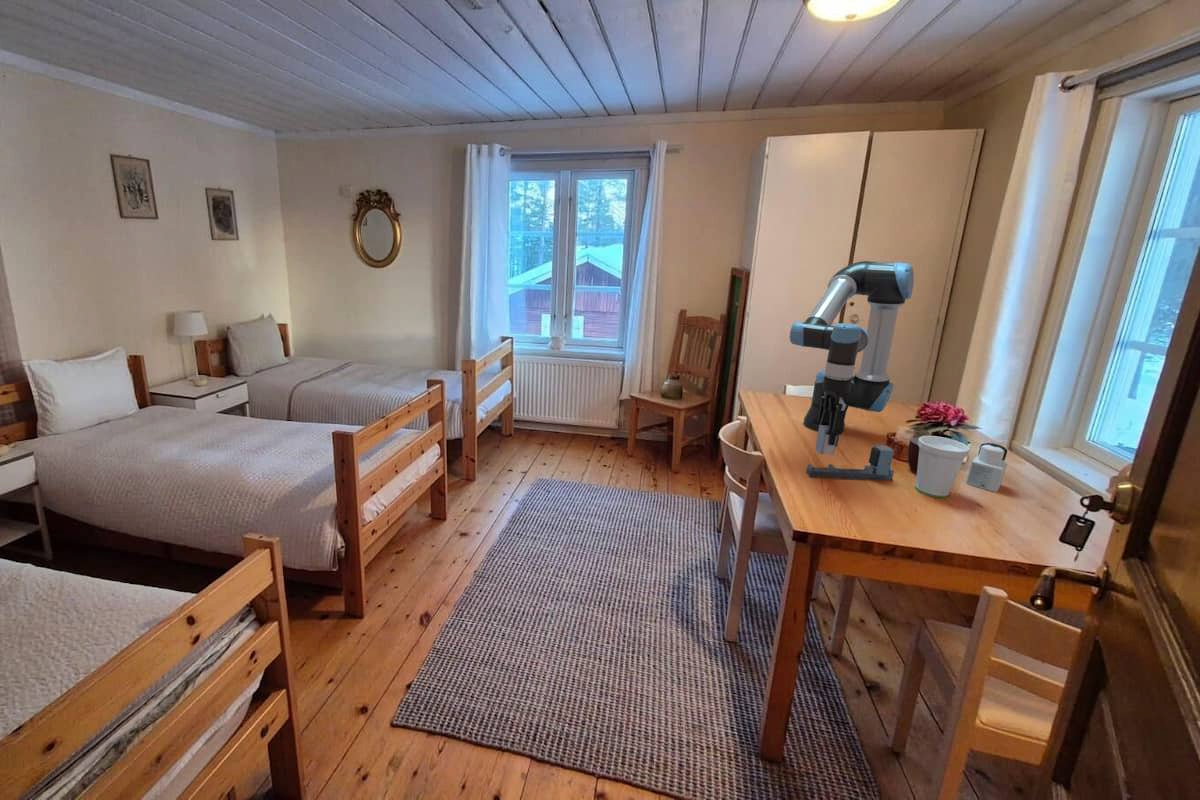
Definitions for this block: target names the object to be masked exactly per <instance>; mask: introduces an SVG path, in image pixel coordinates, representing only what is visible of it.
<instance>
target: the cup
mask: <svg viewBox="0 0 1200 800" xmlns="http://www.w3.org/2000/svg"><path fill="white" fill-rule="evenodd" d="M918 438H919V440H918V446H919V458H918V468H917V473H916V479H915V486H914V488H915V489H916V490H917V492H919V493H920V494H923V495H925V496H929V497H932V498H941V499H942V498H947V497H949V495H950V492H951V490H952V487H953V485H954V483H955V481H956V478H957V476H958V474H959V471H960V469H961V467H962V464H963V462H964V460H965V458H966V457H967V456H969V453H970V447H969V446H968V445H966V444H965V443H963V442H961V441H958V440H955V439H952V438H949V437H942V436H936V435H922V436H920V437H918Z"/></svg>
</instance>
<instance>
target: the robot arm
mask: <svg viewBox="0 0 1200 800" xmlns="http://www.w3.org/2000/svg"><path fill="white" fill-rule="evenodd" d="M914 274H915V273H914V268H913V266H912V264H910V263H906V262H905V263H904V262H899V261H898V262H897V261H869V260H868V261H867V260H862V261H857V262H853V263H851V264H848V265H847V266H845V267H843V268H841V269H839V270H838V271H837V272H836V273H835V274H834V275H833V276H831V278H830V280H829V282H828V283H827V289H826V291H825V292H824V294H823V295H822V297H821V298H820V299H819V300H818V302H817V304H816V305H815V306H814V308H813V309H812V311H811V313H810V314H809V316H808V317H807V319H806V320H805V321H795V322H794V323H793V324H792V326H791V327H790V330H789V341H790V343H791V344H792V345H795V346H801V347H803V348H804V347H805V348H811V349H821V350H828V353H827V359H826V360H827V361H826V362H825V363H826V364H825V367H824V368H825V369H823V370H820V371H818V372H817V373H816V376H815V381H814V382H813V383H814V386H813V391H812V398H811V404H810V407H809V409H808V411H807V412H806V415H805V416H804V418H803V422H802V424H803V426H804V427H806V428H808V429H811V430H813V431H817V432H818V430H819V425H829V430H828V432H826V439H825V444H824V449H823V454H822V455H827V454H829V455H828V456H831V455H832V456H834V455H833V450H834V445H835V440H836V435H839V436H841V435H842V433H843V432H844V431H845V426H846V424H845V419H846V414H847V410H848V409H849V408H855V409H858V410H859V409H860V410H863V411H867V412H874V413H875V412H876V413H881V412H883V411H884V410H885V408H886V406H887V405H888V402H889V400H890V398H891V395H892V392H893V390H894V386H895V385H894V383H893V382H891V377H890V375H889V374H888V373H887V370H888V365H889V360H890V353H891V350H892V344H893V339H894V334H895V329H896V323H897V319H898V317H897V316H898V313H899V308H900V307H902V306H903V305H905V302H906V300H909V299H910V298H912V295H913V289H914V281H915V279H914V278H915V277H914V276H915V275H914ZM855 295H858V296H861V295H862V296H867V298H866V299H867V303H868V304H869V305H870V310H869V315H868V316H869V317H868V323H867V326H866V327H867V329H866V330H865V329H864V328H862V327H861V326H860V325H858V324H854V323H853V324H851V323H836V324H834V325H833V323H834V322H835V319H836V318H837V316H838V315H839V314H840V312H841V311H842V309H843V307H844V306H845V305H846V303H847V301H848V300H849V299H852V297H853V296H855ZM859 352H862V357H861V363H860V368H859V370H857V371H856V372H855V373H854V370H855V369H856V367H855V366H856V361H857V360H856V359H857V355H858V353H859ZM834 451H835V450H834Z"/></svg>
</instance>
